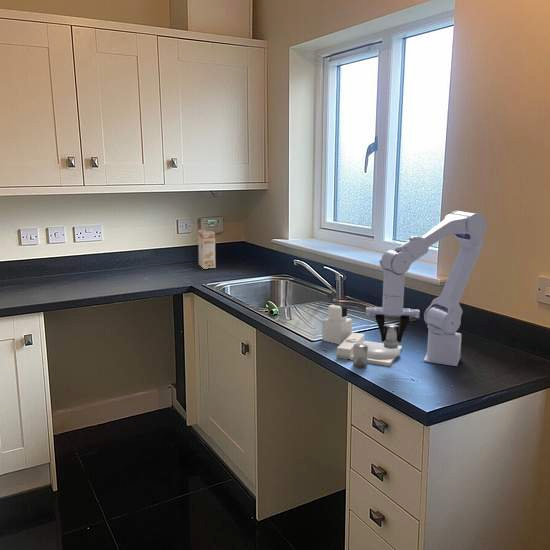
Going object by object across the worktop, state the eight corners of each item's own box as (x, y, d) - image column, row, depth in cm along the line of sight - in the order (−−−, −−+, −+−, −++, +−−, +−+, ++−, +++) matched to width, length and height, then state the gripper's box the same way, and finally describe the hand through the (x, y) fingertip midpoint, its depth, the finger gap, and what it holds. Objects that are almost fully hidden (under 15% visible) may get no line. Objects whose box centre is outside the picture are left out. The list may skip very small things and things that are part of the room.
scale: (405, 349, 174) (405, 338, 174) (393, 366, 160) (394, 355, 159) (352, 341, 181) (352, 331, 181) (336, 357, 167) (337, 346, 166)
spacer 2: (399, 345, 159) (401, 325, 158) (395, 349, 156) (396, 329, 155) (386, 343, 161) (387, 323, 160) (381, 347, 158) (382, 326, 157)
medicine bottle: (333, 335, 188) (334, 300, 185) (352, 339, 183) (353, 304, 181) (321, 340, 182) (322, 305, 180) (340, 345, 178) (341, 309, 175)
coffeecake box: (216, 269, 294) (215, 232, 290) (202, 270, 292) (201, 233, 288) (211, 264, 308) (210, 229, 304) (198, 264, 306) (197, 229, 302)
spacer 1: (368, 364, 162) (369, 344, 161) (365, 369, 159) (365, 348, 157) (355, 362, 164) (356, 342, 162) (351, 366, 160) (352, 346, 159)
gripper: (418, 291, 158) (416, 337, 161) (366, 289, 160) (365, 335, 163) (421, 297, 151) (418, 345, 154) (366, 295, 153) (365, 343, 156)
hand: (391, 340), depth 158 cm, fingers closed on spacer 2, 4 cm apart
